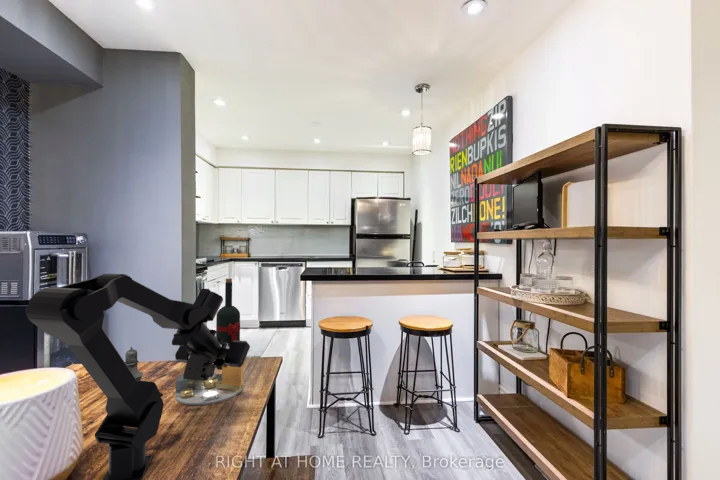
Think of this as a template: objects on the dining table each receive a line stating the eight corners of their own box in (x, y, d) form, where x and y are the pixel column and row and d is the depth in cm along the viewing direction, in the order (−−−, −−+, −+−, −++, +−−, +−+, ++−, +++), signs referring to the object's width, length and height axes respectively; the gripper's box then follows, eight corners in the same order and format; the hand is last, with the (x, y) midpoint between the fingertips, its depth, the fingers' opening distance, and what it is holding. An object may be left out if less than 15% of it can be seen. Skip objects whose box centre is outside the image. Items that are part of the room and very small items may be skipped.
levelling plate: (242, 400, 90) (242, 379, 90) (167, 409, 84) (168, 387, 84) (244, 374, 107) (245, 357, 107) (182, 380, 101) (183, 362, 101)
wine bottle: (224, 373, 107) (225, 281, 107) (211, 364, 114) (212, 278, 114) (247, 367, 113) (248, 279, 113) (233, 359, 120) (234, 276, 120)
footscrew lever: (201, 386, 94) (201, 351, 94) (209, 381, 98) (210, 347, 98) (238, 391, 91) (238, 355, 92) (245, 385, 95) (245, 351, 95)
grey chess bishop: (130, 393, 93) (131, 350, 93) (113, 391, 94) (113, 349, 94) (147, 384, 99) (148, 344, 99) (131, 382, 100) (131, 342, 100)
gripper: (147, 366, 77) (182, 392, 88) (218, 372, 73) (245, 398, 84) (172, 324, 85) (201, 353, 96) (238, 328, 81) (260, 357, 92)
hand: (226, 365), depth 92 cm, fingers closed
